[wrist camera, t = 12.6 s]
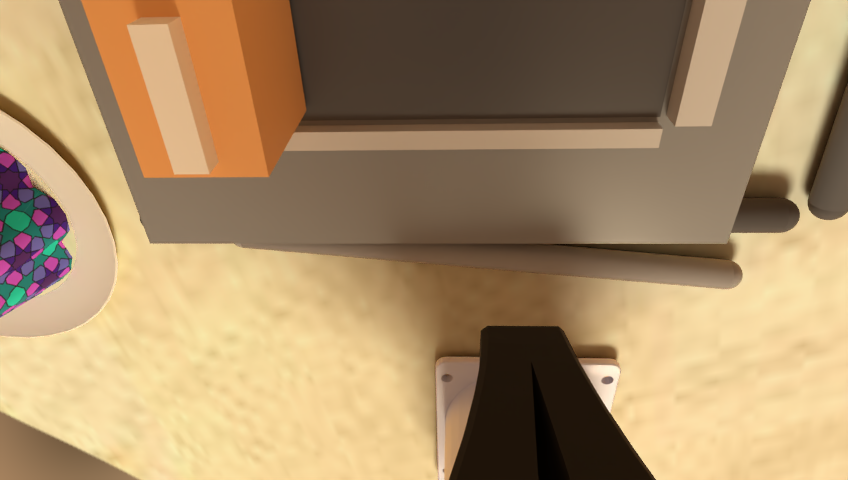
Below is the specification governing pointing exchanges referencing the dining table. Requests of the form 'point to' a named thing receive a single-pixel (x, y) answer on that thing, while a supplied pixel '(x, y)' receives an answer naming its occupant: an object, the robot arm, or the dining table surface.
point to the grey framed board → (494, 124)
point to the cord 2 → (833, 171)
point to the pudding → (48, 241)
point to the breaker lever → (202, 82)
